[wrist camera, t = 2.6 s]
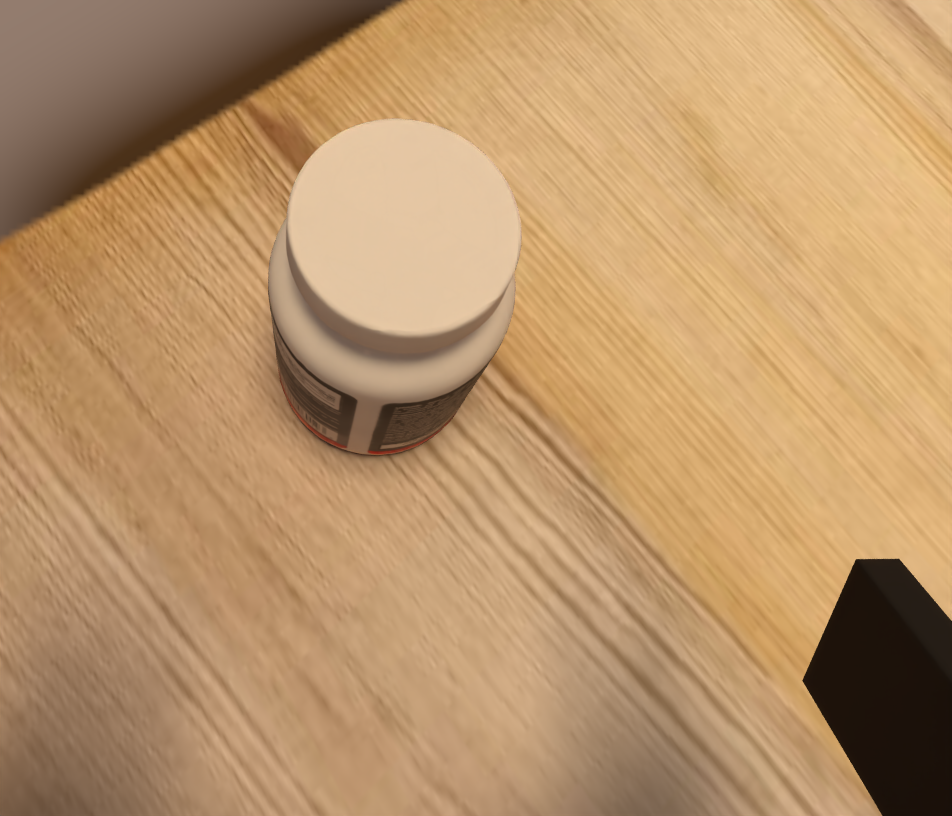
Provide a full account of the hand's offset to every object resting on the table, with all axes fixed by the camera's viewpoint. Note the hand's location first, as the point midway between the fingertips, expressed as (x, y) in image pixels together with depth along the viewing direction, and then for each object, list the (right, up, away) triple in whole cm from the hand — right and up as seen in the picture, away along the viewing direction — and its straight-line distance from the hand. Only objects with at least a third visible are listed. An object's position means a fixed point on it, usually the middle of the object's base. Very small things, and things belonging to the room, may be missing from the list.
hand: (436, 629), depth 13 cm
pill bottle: (-3, +4, +14) cm, 15 cm away
